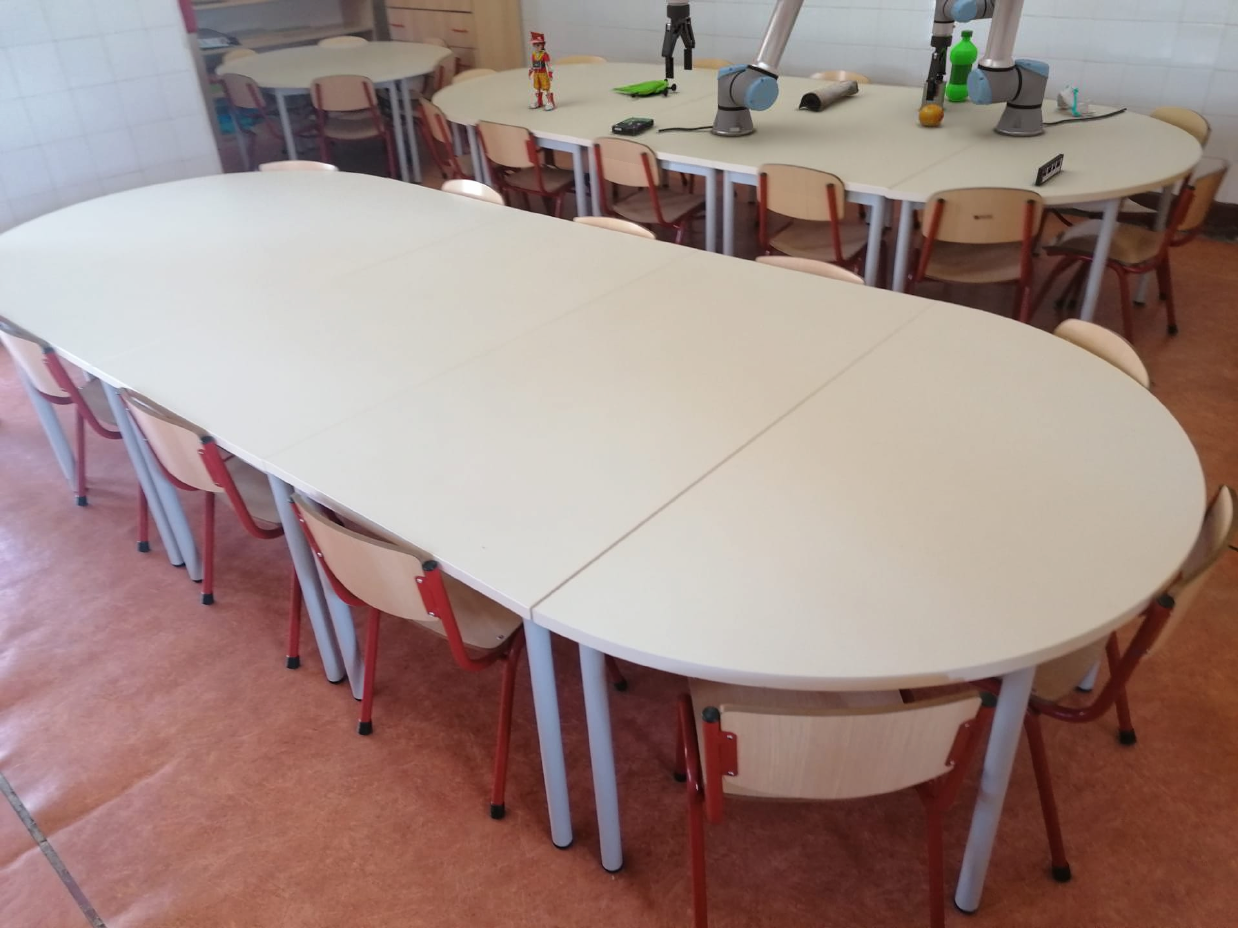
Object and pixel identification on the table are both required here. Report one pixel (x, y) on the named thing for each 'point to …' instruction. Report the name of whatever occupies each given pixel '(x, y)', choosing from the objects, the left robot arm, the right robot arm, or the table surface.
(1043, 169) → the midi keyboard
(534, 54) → the toy
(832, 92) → the rolled mat
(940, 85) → the brick
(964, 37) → the plastic bottle
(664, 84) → the toy
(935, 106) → the fruit
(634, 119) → the disk drive
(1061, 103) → the anatomical model
